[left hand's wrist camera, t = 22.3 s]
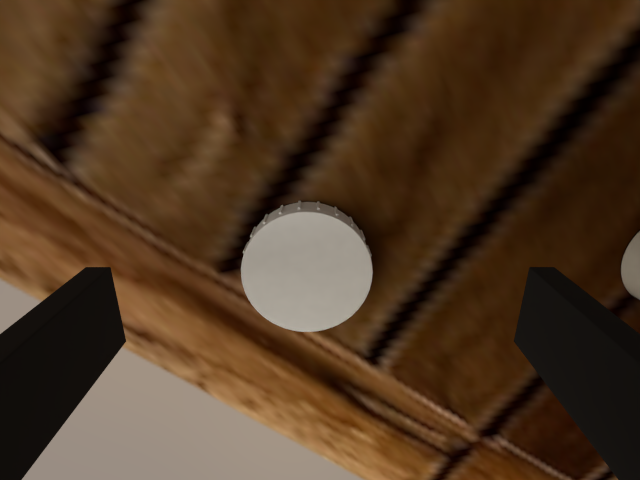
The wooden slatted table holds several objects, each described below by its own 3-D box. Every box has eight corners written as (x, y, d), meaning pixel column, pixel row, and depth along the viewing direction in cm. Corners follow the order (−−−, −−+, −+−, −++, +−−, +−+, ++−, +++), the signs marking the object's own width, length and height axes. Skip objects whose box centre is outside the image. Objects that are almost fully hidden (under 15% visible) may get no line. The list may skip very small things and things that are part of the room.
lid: (390, 278, 19) (397, 295, 18) (288, 333, 20) (285, 353, 19) (330, 175, 18) (331, 183, 16) (220, 240, 18) (212, 254, 17)
